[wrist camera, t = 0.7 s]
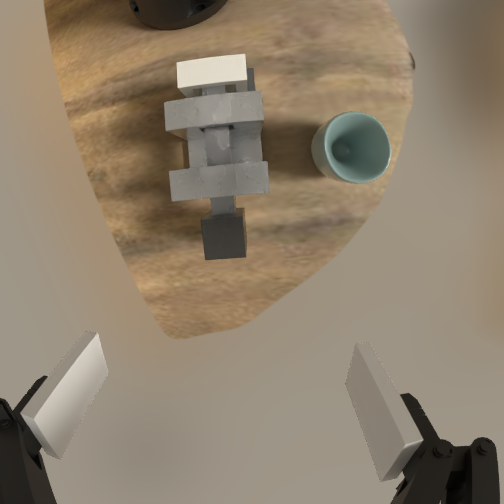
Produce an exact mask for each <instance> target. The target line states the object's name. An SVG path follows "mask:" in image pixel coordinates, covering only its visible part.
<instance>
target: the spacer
mask: <svg viewBox="0 0 504 504" xmlns="http://www.w3.org/2000/svg"><path fill="white" fill-rule="evenodd" d="M177 82H178V89H179V90H180V91H181V92H182V93H183V94H184V96H185V97H186V98H192V97H199V96H202V88H205V87H213V86H222V85H227V93H235V92H247V91H248V88H247V72H246V60H245V54H239V55H228V56H218V57H210V58H202V59H195V60H189V61H183V62H177Z"/></svg>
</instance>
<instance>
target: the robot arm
mask: <svg viewBox="0 0 504 504" xmlns="http://www.w3.org/2000/svg"><path fill="white" fill-rule="evenodd" d="M226 1H227V0H129V3H130V7H131V9H132V11H133V13H134V14H135V15H136V17H137V18H138V19H139V20H140V21H141V22H142V23H144V24H145V25H147V26H149V27H152V28H156V29H162V30H174V29H181V28H186V27H189V26H192V25H195V24H198V23H200V22H202V21H204V20H206V19H208V18H209V17H211V16H212V15H214V14H215V13H216V12H218V11H219V10H220V9H221V8H222V7H223V5H224V4H225V3H226ZM108 374H109V372H108V369H107V366H106V362H105V359H104V355H103V351H102V348H101V344H100V340H99V336H98V333H96V332H88V331H86V332H85V333H84V334H83V335H82V336H81V337H80V338H79V340H78V341H77V342H76V343H75V344H74V346H73V347H72V348H71V349H70V351H69V352H68V353H67V354H66V355H65V356H64V358H63V359H62V360H61V361H60V363H59V364H58V365H57V366H56V368H55V369H54V370H53V371H52V373H51V374H50V375H49V376H43V377H41V378H40V379H38V380H37V381H36V382H35V383H34V384H33V386H32V387H31V389H29V390H28V392H27V394H25V396H24V397H23V398H22V399H21V401H20V402H19V403H18V405H17V406H16V407H15V409H14V410H13V411H12V409H11V407H10V406H9V404H8V402H7V401H6V400H5V399H2V398H0V504H57V503H56V500H55V497H54V494H53V492H52V489H51V486H50V483H49V480H48V477H47V473H46V470H45V466H44V463H43V459H42V456H41V454H40V452H39V451H40V449H41V447H42V448H43V449H44V451H45V452H46V453H47V454H48V455H50V456H52V457H55V458H57V459H61V458H62V456H63V454H64V452H65V450H66V448H67V446H68V444H69V442H70V441H71V439H72V437H73V435H74V433H75V431H76V429H77V428H78V426H79V424H80V422H81V420H82V418H83V417H84V415H85V413H86V411H87V410H88V408H89V406H90V404H91V402H92V401H93V399H94V397H95V396H96V394H97V392H98V390H99V389H100V387H101V385H102V384H103V382H104V380H105V379H106V377H107V375H108ZM345 384H346V387H347V390H348V392H349V395H350V398H351V400H352V403H353V406H354V408H355V411H356V414H357V417H358V419H359V422H360V425H361V428H362V430H363V433H364V436H365V439H366V442H367V445H368V447H369V450H370V453H371V456H372V459H373V462H374V465H375V468H376V471H377V473H378V477H379V480H380V482H383V481H387V480H391V479H395V478H397V477H398V476H399V474H400V473H401V472H402V471H403V474H404V476H405V478H404V479H403V481H402V482H401V483H400V484H399V485H398V487H397V488H396V489H397V492H396V494H395V496H394V498H393V500H392V502H391V504H439V503H440V501H441V504H500V489H499V473H498V461H497V452H496V447H495V444H494V443H493V442H492V441H491V440H490V439H488V438H485V437H481V438H477V439H475V440H474V441H473V443H472V444H471V445H470V446H458V447H455V446H453V445H452V444H451V443H450V442H448V441H446V440H443V439H440V438H439V437H438V435H437V433H436V432H435V430H434V428H433V426H432V425H431V423H430V421H429V419H428V418H427V416H425V412H424V411H423V409H422V407H421V406H420V404H419V402H418V400H417V399H416V398H414V397H413V396H412V395H411V394H409V393H406V394H401V395H399V393H398V391H397V389H396V387H395V386H394V384H393V382H392V381H391V379H390V377H389V375H388V373H387V372H386V370H385V368H384V366H383V365H382V363H381V361H380V359H379V358H378V356H377V354H376V353H375V351H374V349H373V347H372V346H371V344H370V343H369V342H365V343H364V342H363V343H356V344H355V347H354V352H353V356H352V360H351V364H350V368H349V372H348V375H347V379H346V383H345Z"/></svg>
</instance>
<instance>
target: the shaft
mask: <svg viewBox="0 0 504 504" xmlns="http://www.w3.org/2000/svg"><path fill="white" fill-rule="evenodd" d="M225 93H227V85H222V86H213V87H205V88H202V96H207V95H215V94H225ZM204 129H205V143H206V155H207V166H215V165H225V164H233V163H232V151H231V138H230V125H226V126H216V127H207V128H204ZM210 200H211V210H210V211H209V212H208V213H207V214H206V215H205V216H204V217H203V218H202V219H201V228H202V237H203V245H204V254H205V260H215V259H229V258H242V257H246V249H247V235H246V223H245V211H244V208H236V199H235V195H234V196H222V197H212V198H210Z"/></svg>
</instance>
